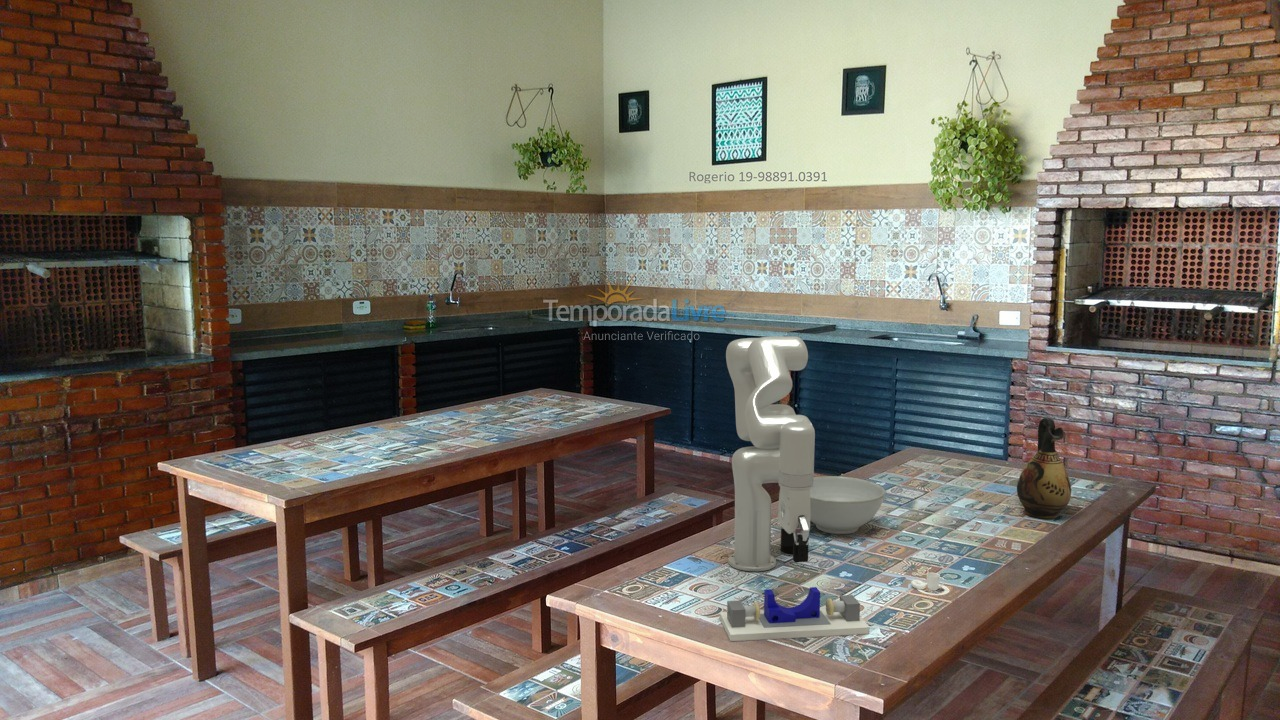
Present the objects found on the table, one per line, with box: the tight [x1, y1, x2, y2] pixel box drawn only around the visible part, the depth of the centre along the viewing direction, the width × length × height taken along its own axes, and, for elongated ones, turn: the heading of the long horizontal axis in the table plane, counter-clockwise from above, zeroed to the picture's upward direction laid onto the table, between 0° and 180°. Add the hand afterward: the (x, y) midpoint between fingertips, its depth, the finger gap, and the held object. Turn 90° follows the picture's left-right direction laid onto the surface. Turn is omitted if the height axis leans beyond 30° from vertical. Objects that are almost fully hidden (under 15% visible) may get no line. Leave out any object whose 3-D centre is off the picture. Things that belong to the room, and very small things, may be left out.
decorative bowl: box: [810, 475, 886, 535], centre depth 275 cm, size 27×27×12 cm
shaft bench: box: [719, 594, 870, 642], centre depth 208 cm, size 12×31×6 cm, turn 97°
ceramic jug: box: [1016, 417, 1072, 520], centre depth 287 cm, size 17×15×30 cm
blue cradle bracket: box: [763, 586, 821, 623], centre depth 209 cm, size 12×4×6 cm, turn 97°
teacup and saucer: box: [910, 572, 950, 596], centre depth 230 cm, size 9×8×4 cm
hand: (794, 553), depth 207 cm, fingers open, 9 cm apart
